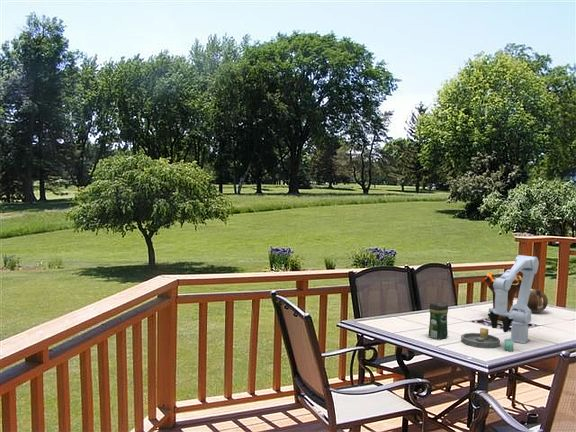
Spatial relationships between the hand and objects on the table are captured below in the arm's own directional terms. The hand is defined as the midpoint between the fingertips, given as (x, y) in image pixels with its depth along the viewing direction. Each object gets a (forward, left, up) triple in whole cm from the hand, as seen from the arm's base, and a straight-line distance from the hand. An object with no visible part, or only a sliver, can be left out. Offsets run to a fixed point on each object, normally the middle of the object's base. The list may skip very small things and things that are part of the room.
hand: (499, 329), depth 263 cm
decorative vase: (-58, -19, -9) cm, 62 cm away
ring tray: (0, -10, -9) cm, 13 cm away
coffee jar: (+6, -30, -9) cm, 31 cm away
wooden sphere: (-93, -11, -9) cm, 94 cm away
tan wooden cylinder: (-5, -10, -8) cm, 13 cm away
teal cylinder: (+3, +5, -9) cm, 10 cm away
